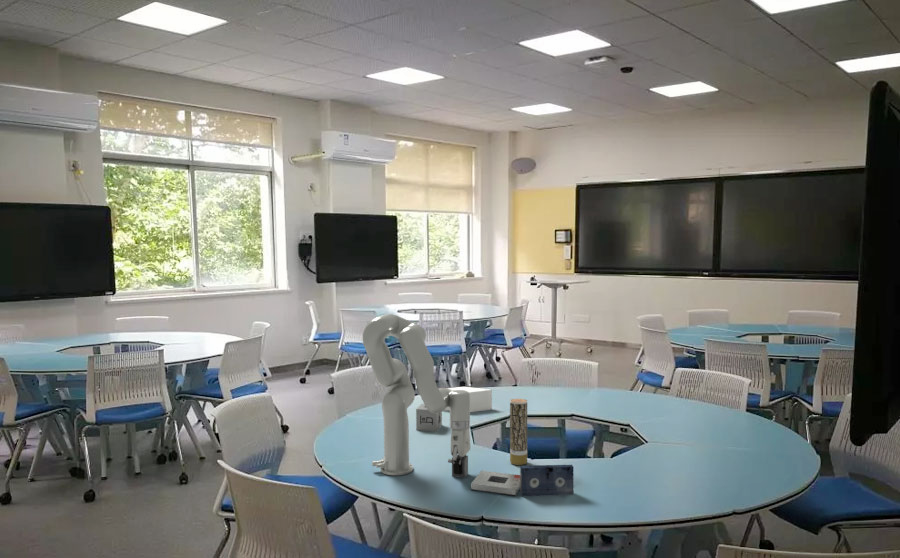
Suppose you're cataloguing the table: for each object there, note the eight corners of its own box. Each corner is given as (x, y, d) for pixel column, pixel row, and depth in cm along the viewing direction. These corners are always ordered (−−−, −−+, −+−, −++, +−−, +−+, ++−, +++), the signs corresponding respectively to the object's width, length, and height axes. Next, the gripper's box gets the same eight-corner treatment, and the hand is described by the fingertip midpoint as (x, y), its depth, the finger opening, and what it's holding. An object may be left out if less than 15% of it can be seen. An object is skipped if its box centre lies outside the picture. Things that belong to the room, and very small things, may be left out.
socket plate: (471, 490, 210) (471, 481, 210) (481, 477, 222) (481, 468, 222) (515, 496, 205) (515, 487, 204) (523, 482, 217) (523, 474, 217)
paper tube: (518, 467, 232) (518, 403, 231) (506, 462, 238) (506, 400, 236) (530, 463, 236) (530, 401, 235) (519, 458, 242) (519, 397, 240)
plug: (447, 475, 224) (446, 457, 224) (450, 471, 228) (450, 453, 227) (464, 477, 222) (464, 459, 221) (468, 474, 225) (467, 455, 225)
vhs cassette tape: (572, 492, 208) (572, 464, 208) (574, 495, 205) (574, 467, 205) (519, 493, 208) (519, 465, 207) (521, 496, 205) (521, 468, 204)
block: (436, 405, 325) (436, 386, 325) (491, 405, 324) (491, 386, 324) (434, 413, 310) (434, 393, 310) (492, 413, 310) (492, 393, 309)
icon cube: (416, 430, 281) (416, 409, 281) (421, 424, 291) (421, 403, 290) (436, 431, 279) (436, 410, 278) (441, 425, 289) (441, 404, 288)
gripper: (462, 431, 214) (462, 481, 215) (476, 418, 230) (476, 465, 231) (442, 429, 217) (442, 478, 218) (457, 416, 232) (457, 463, 233)
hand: (460, 471), depth 224 cm, fingers closed on plug, 4 cm apart
